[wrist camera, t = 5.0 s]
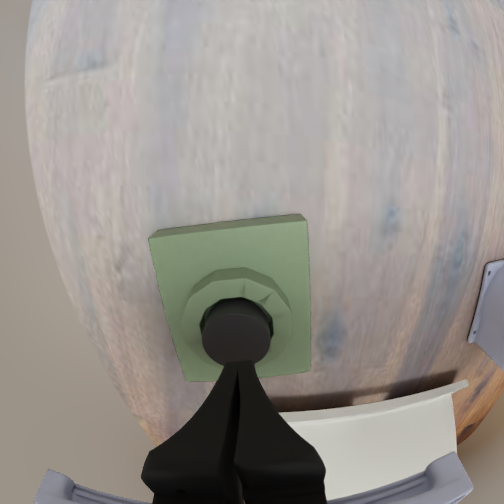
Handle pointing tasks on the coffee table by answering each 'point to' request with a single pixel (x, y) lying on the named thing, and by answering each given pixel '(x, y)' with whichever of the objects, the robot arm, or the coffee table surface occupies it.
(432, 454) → the tablet stand
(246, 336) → the button
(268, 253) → the button block
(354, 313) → the coffee table surface
